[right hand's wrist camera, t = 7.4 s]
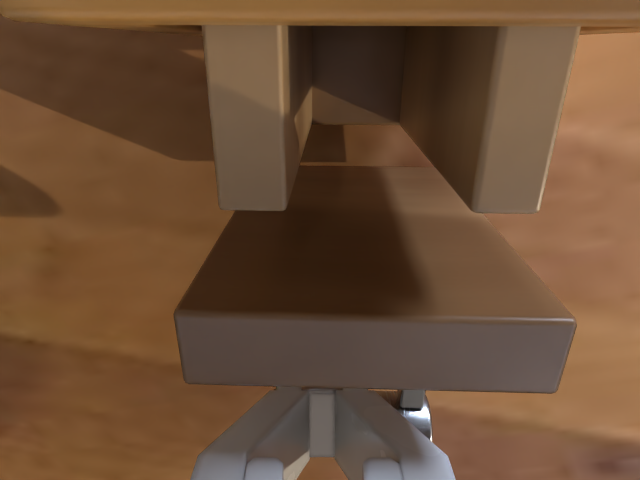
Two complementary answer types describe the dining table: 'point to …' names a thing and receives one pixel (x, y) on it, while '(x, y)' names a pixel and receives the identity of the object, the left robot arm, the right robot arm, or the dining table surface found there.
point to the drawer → (379, 213)
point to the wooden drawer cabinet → (326, 13)
